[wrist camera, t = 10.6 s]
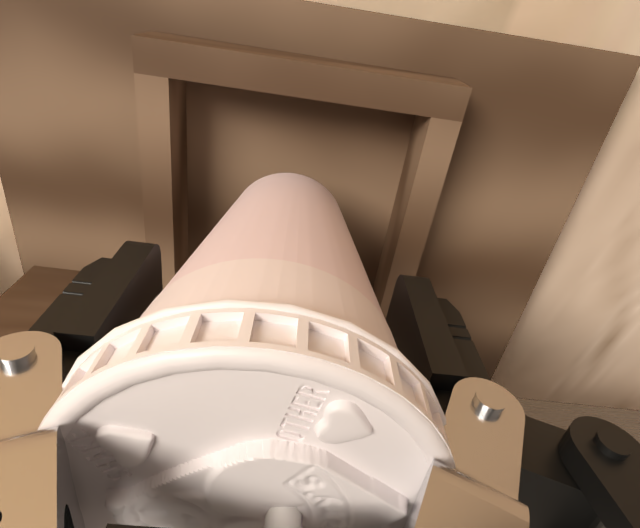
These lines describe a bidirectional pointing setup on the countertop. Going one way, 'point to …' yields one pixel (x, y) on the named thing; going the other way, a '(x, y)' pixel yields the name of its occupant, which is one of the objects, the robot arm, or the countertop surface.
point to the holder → (296, 139)
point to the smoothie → (254, 386)
